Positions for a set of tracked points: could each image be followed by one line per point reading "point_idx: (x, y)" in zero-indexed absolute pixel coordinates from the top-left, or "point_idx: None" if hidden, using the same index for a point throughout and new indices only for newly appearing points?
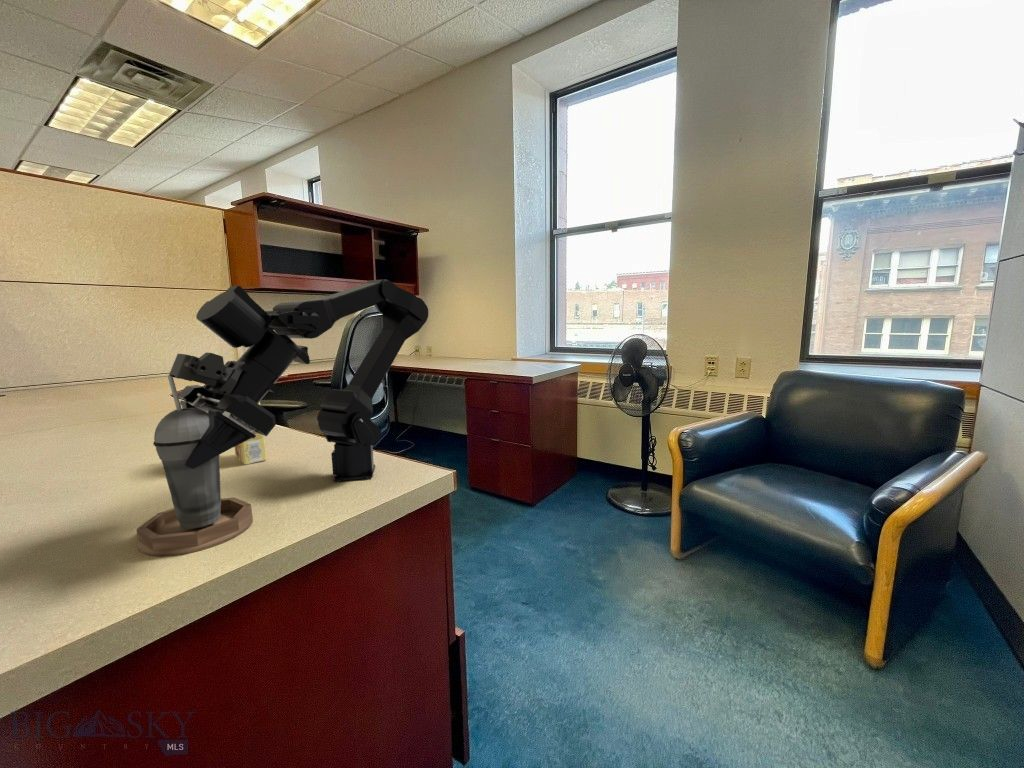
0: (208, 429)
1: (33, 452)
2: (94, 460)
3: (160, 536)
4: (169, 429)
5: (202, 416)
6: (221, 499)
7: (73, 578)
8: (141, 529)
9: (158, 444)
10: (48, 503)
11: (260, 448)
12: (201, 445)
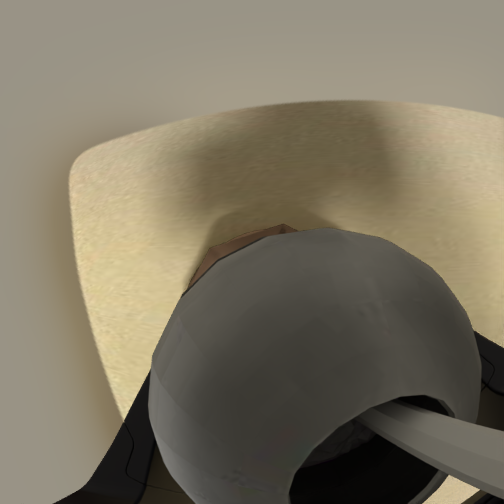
0: (129, 475)
1: None
2: None
3: (210, 261)
4: (178, 313)
5: None
6: None
7: (216, 161)
8: (275, 231)
9: (238, 250)
10: (497, 142)
11: None
12: (134, 410)
